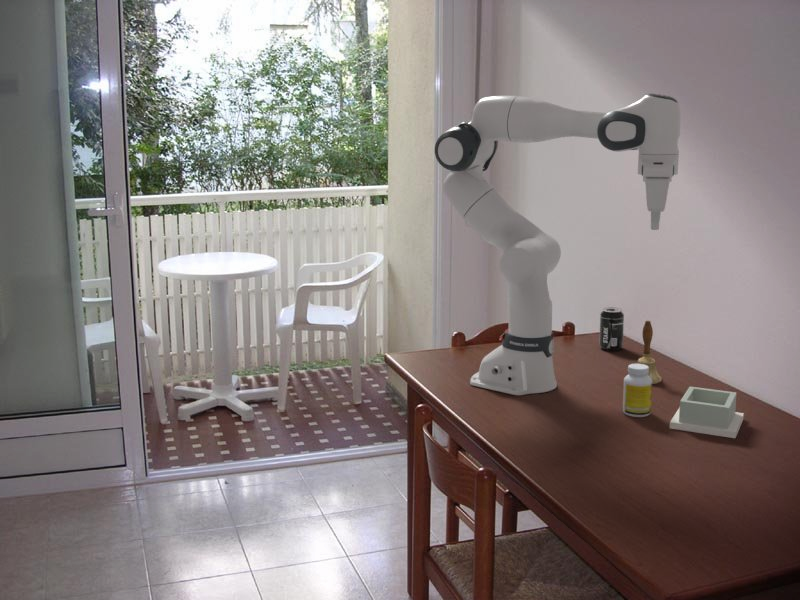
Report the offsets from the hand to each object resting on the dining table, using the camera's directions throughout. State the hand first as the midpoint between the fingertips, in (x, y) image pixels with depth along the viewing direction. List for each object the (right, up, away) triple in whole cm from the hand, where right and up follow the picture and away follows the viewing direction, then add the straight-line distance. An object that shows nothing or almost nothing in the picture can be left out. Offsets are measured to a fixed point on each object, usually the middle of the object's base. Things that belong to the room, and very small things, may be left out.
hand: (654, 226), depth 204 cm
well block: (+11, -45, -4) cm, 47 cm away
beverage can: (+4, -32, +58) cm, 66 cm away
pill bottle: (-3, -44, +4) cm, 44 cm away
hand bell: (+6, -38, +29) cm, 48 cm away
